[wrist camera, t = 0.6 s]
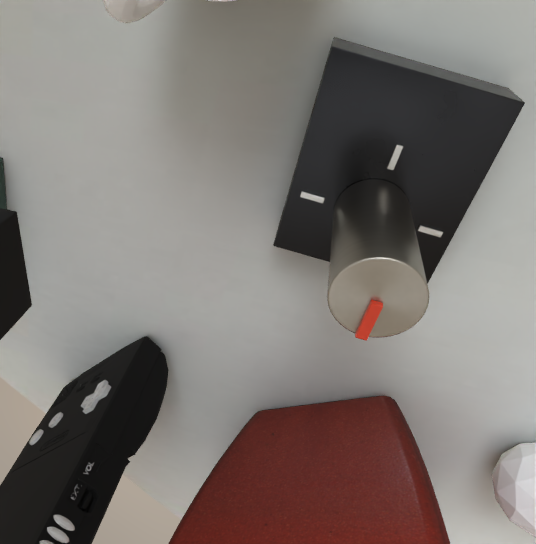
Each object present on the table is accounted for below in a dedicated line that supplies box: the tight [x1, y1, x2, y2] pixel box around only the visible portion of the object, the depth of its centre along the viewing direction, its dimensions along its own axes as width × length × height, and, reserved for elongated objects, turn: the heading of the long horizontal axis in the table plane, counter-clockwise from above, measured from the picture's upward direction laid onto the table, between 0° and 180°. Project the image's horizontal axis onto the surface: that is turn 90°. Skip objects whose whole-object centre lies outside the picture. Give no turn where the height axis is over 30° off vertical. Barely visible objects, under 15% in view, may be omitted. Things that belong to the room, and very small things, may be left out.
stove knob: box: [328, 179, 429, 340], centre depth 25 cm, size 4×4×9 cm
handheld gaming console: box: [0, 336, 168, 544], centre depth 36 cm, size 12×5×20 cm, turn 130°
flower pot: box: [169, 396, 450, 544], centre depth 38 cm, size 19×19×17 cm
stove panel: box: [274, 37, 524, 283], centre depth 29 cm, size 12×10×3 cm
